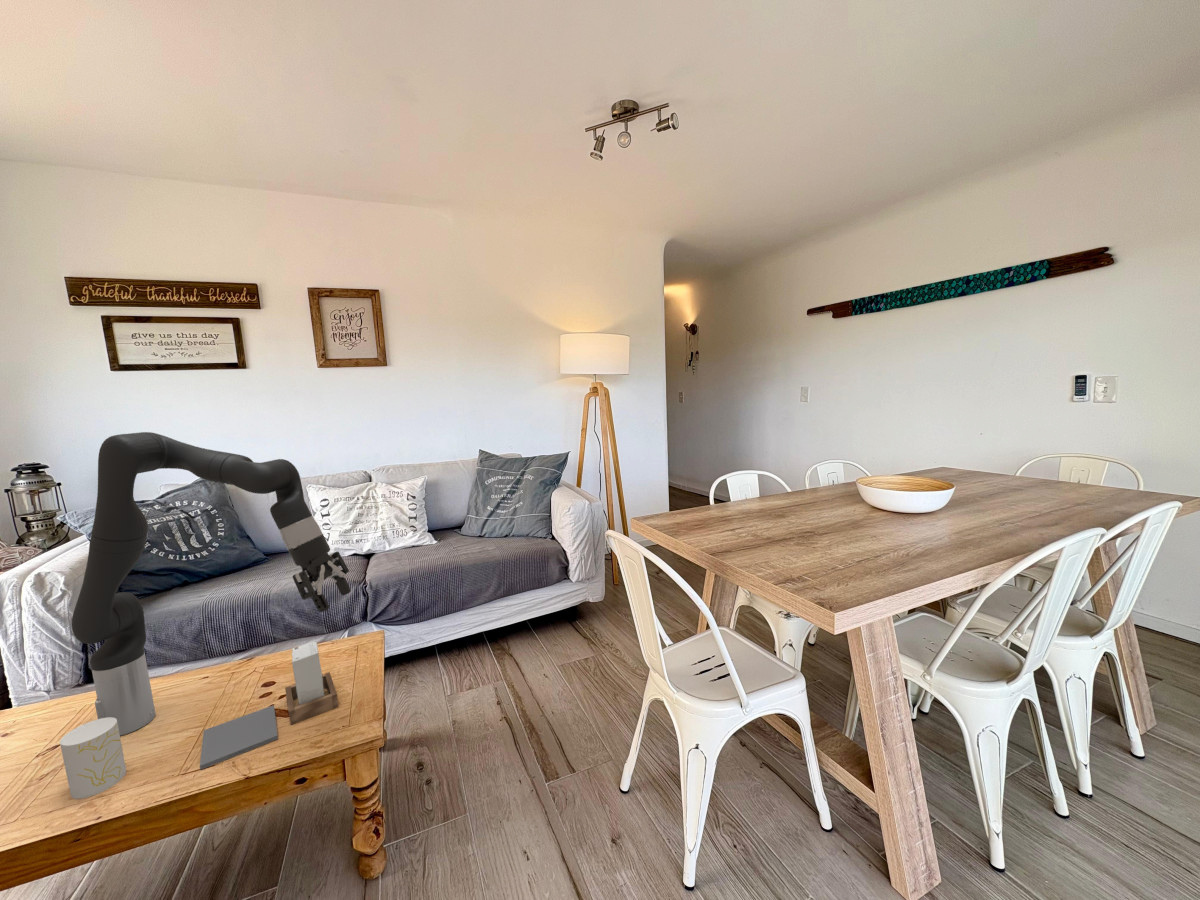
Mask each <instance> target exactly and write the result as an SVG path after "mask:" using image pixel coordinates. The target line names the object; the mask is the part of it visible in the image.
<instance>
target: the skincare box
mask: <svg viewBox="0 0 1200 900" xmlns="http://www.w3.org/2000/svg"><path fill="white" fill-rule="evenodd" d="M291 651H292V653H291V656H292V660H291V664H292V671H293V676H294V684H296V691H297V697H298V698H297V701H298V706H299V705H302V704H304V703H307V702H310V701H312V700H315V699H318V698H321V697H323V696H325V688H324V685H323V678H322V675H323V674H322V667H321V659H320V655H319V647H318V642H317V641H313V642H309V643H306V644H303V645H299V646H296V647H293V648H291Z"/></svg>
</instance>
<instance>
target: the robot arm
mask: <svg viewBox="0 0 1200 900" xmlns="http://www.w3.org/2000/svg"><path fill="white" fill-rule="evenodd" d="M100 445H101V446H100V448H99V451H98V457H97V458H98V459H97V493H96V494H97V495H96V496H97V497H96V502H95V503H96V504H95V513H94V517H93V518H94V519H93V524H92V529H91V534H90V540H89V544H88V545H89V546H88V555H87V562H86V567H85V571H84V575H83V581H82V584H81V588H80V591H79V594H78V597H77V600H76V604H75V606H74V609H73V614H72V618H71V629H72V633H73V635H74V637H75V639H76V640H78V641H79V642H80V643H82V644H85V645H93V644H99V643H101V642H103V641H104V642H103V644H102V645H100V647H99V648H97V650H96V651H95V652H94V653H93V654H91V657H90V659H89V663H90V667H91V668H90V669H91V673H92V679H93V684H94V688H95V694H96V699H95V702H94V706H95V711H96V712H95V713H96V717H97V719H101V718H107V717H113V718H116V719H117V724H118V729H119V734H120V737H121V736H125V735H127V734H131V733H133V732H135V731H137V730H139V729H142V728H143V727H144V726H146V725H148V724H149V723H150V722H153V720H154V718H155V717H156V709H155V708H156V707H155V704H154V697H153V693H152V687H151V686H152V685H151V682H150V681H151V680H150V675H149V669H148V663H147V658H146V653H145V645H146V643H147V642H146V641H147V631H146V623H145V614H144V613H145V612H144V608H143V605H142V603H141V601H140V600H139V598H138V597H137V596H136V595H135V594H133V593H131V592H124V591H123V592H122V591H121V592H118V589H119V587H120V586H121V584H122V582H123V581H124V580H125V578H127V576H128V575H129V573H130V572H131V571H132V570H133V568H134V567H135V566H136V564H137V563H138V561H139V560H140V558H141V557H142V555H143V553H144V551H145V546H146V542H147V536H148V532H149V531H148V530H149V524H148V519H147V518H146V516H145V514H144V513H143V511H142V510H141V508H140V507H139V505H138V504H137V503H136V501H135V498H134V488H135V481H136V479H137V475H138V474H143V473H149V472H153V471H157V470H160V469H171V470H172V469H173V470H175V469H176V470H184V471H188V472H190V473H191V474H192V475H194V476H196V477H197V478H200V479H203V480H205V481H207V482H213V483H219V484H223V485H224V484H225V485H231V486H234V487H236V488H238V489H241V490H243V491H246V492H247V493H252V494H257V495H258V494H260V495H266V494H271V493H275V496H276V502H275V503H274V504H272V505H271V507H270V508H269V511H270V515H271V517H272V519H273V521H274V523H275V525H276V527H277V529H278V531H279V534H280V536H281V539H282V541H283V543H284V545H285V547H286V550H288V553H289V555H290V557H291V559H292V561H293V563H294V565H295V566H298V567H300V568H301V571H300V572H298V573H295V574H293V575H292V579H293V582H294V584H295V585H296V588H297V590H298V592H299V595H300V597H301V599H302V600H304V601H305V600H307V599H311V600H312V602H313V603H314V605H315V608H316V609H317V611H319V612H320V613H322V612H325V611H327V610H329V609H330V604H329V602H328V601H327V599H326V597H325V594H324V593H323V591H322V590H323V588H322V587H323V585H324V584H325V583H324V582H325V580H327V579H331V580H333V581H334V582H335V585H336V587H337V589H338V591H339V593H340V594H341V596H345V595H349V594H350V593H351V587H350V585H349V582H348V581H347V578H346V576H347V574H348V573H349V572H350V569H349V568H348V566H347V564H346V562H345V561H344V559H343V557H342V555H341V554H340V552H339V551H338V550H337V551H334V552H332V553H330V554H329V552H330V551H331V548H330V545H329V543H328V541H327V539H326V538H325V536H324V533H323V531H322V529H321V528H320V525H319V524H318V522H317V521H316V520H315V518H314V516H313V514H312V512H311V510H310V509H309V507H308V505H307V503H306V501H305V498H304V496H305V495H304V491H303V490H304V489H303V485H302V480H301V479H302V478H301V476H300V473H299V471H298V469H297V467H296V466H295V465H294V464H293V463H292V462H290V461H289V460H287V459H283V458H277V459H272V460H269V461H263V462H254V461H253V459H252V458H250V457H248V456H246V455H241V454H237V453H231V452H225V451H220V450H213V449H208V448H203V447H199V446H195V445H192V444H188V443H186V442H182V441H179V440H177V439H173V438H171V437H169V436H165V435H162V434H159V433H156V432H152V431H151V432H150V431H141V432H132V433H131V432H130V433H122V434H121V433H120V434H115V435H111V436H109V437H107V438H105V439H104V440H103V442H102V443H101V444H100ZM340 567H341V568H340ZM305 589H306V590H307V592H306V590H305Z"/></svg>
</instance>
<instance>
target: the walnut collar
mask: <svg viewBox="0 0 1200 900" xmlns="http://www.w3.org/2000/svg"><path fill="white" fill-rule="evenodd" d="M322 678H323V685H324V689H326V690H327V692H328V694H327V695H324V696H323V697H321V698H318V699H315V700H312V701H310V702H307V703H304V704H302V705H299V704H298V705H296V706H295V703H294V700H296V699H298V697H297V691H296V684H295V683H294V684H291V685H288V686H285V687H284V691H285V698H286V703H287V709H288V715H289V716H288V717H289V722H290V726H292V725H294V724H296V723H299V722H302V721H305V720H307V719H309V718H312V717H315V716H317V715H320V714H323V713H325V712H328V711H330V710H333V709H336V708H338V707H339V700H338V693H337V691H336V686H335V684H334V680H333V677H332V675H331V673H330V672H326V673H323V674H322Z"/></svg>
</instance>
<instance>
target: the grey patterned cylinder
mask: <svg viewBox="0 0 1200 900" xmlns="http://www.w3.org/2000/svg"><path fill="white" fill-rule="evenodd" d="M59 745H60V749H61V753H62V754H61V755H62V760H63V764H64V768H65V775H66V778H67V783H68V789H69V793H70V798H72V799H74V800H82V799H86V798H89V797H93V796H95V795H98V794H100V793H103V792H104V791H107V790H108V789H110V788H112V787H114V786H115V785H117V783H119V782H120V781H121V780H122V779H123V778H124V777H125V775H126V773H127V767H126V761H125V757H124V755H125V754H124V751H123V746H122V745H123V744H122V740H121V736H120V734H119V729H118V724H117V719H116V718H113V717H107V718H101V719H98V718H97V719H94V720H92V721H88V722H86V723H83V724H81V725H79V726H77V727H75V728H73V729H72V730H70V731H69V732H67V733H66V734H65V735H63V737H62V738H60V740H59Z"/></svg>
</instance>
